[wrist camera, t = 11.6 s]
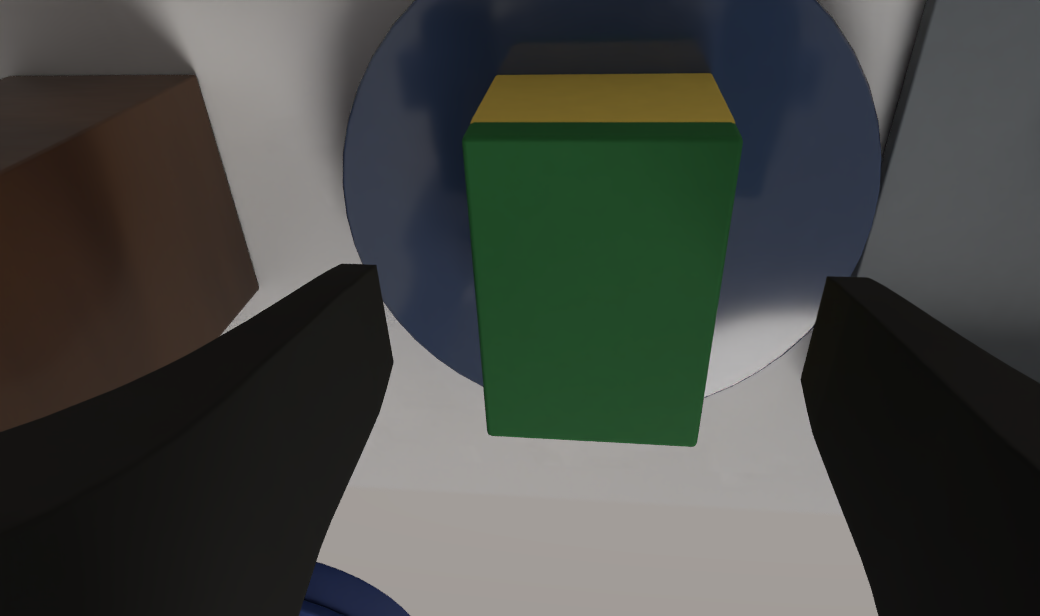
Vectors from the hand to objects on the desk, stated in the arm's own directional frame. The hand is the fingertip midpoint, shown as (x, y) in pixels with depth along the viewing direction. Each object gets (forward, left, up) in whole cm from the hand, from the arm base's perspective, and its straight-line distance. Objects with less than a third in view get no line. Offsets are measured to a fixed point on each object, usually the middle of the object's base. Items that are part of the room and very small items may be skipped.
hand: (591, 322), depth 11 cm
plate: (0, 0, -5) cm, 5 cm away
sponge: (0, 0, -4) cm, 4 cm away
